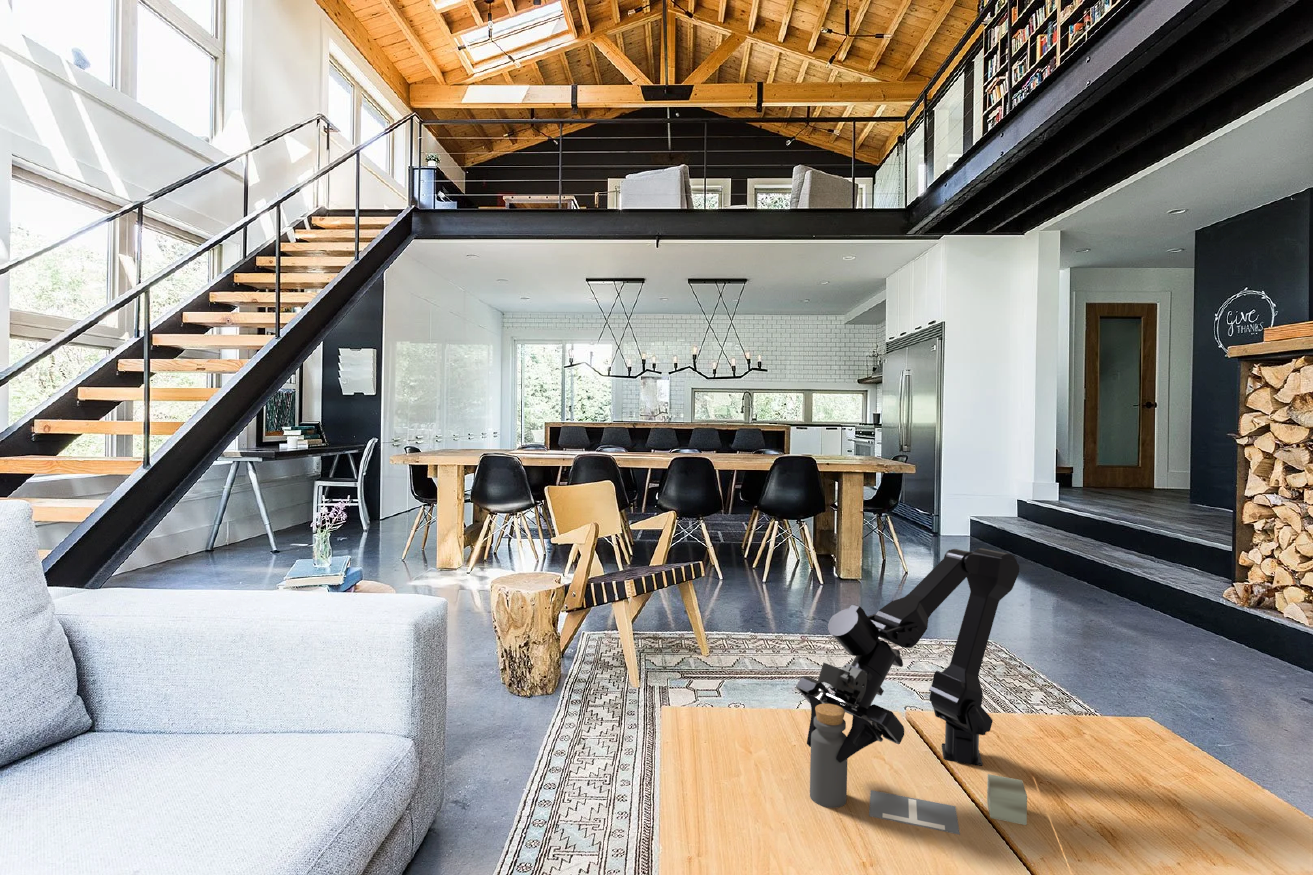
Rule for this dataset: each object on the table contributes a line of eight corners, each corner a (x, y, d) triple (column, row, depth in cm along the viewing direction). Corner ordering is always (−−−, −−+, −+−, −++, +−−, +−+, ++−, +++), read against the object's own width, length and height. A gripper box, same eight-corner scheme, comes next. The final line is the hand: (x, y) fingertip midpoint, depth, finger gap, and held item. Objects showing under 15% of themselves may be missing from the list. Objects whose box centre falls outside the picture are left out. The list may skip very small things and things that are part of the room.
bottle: (847, 812, 106) (850, 718, 105) (810, 807, 107) (812, 714, 107) (845, 792, 111) (847, 703, 111) (809, 788, 113) (811, 700, 112)
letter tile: (870, 792, 112) (870, 789, 112) (955, 808, 107) (955, 805, 107) (868, 818, 104) (868, 815, 104) (959, 836, 100) (959, 834, 100)
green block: (986, 804, 109) (987, 773, 109) (1021, 810, 107) (1022, 780, 107) (990, 820, 104) (990, 789, 104) (1026, 828, 102) (1027, 795, 102)
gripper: (804, 630, 119) (757, 706, 112) (895, 661, 103) (847, 751, 97) (832, 665, 123) (789, 740, 117) (923, 700, 108) (879, 788, 102)
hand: (823, 753), depth 108 cm, fingers closed on bottle, 6 cm apart
